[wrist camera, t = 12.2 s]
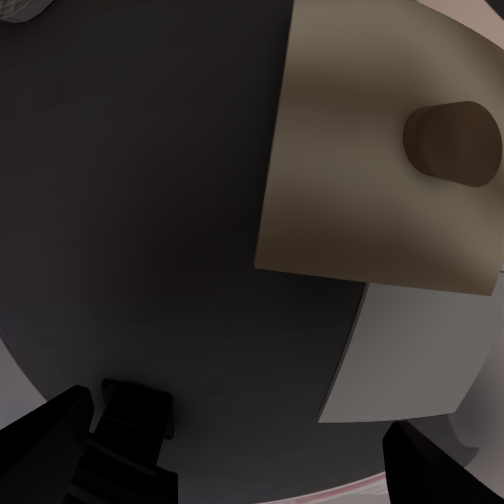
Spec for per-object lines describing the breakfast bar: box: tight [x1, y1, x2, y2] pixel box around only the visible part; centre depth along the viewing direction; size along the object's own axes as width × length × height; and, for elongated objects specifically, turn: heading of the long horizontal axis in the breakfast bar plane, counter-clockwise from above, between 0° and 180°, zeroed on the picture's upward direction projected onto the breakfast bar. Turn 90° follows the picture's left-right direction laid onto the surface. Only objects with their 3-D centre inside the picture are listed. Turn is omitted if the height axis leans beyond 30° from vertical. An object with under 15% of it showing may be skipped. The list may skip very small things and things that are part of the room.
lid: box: [254, 0, 504, 296], centre depth 11 cm, size 14×14×5 cm
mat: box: [317, 271, 504, 422], centre depth 22 cm, size 16×16×1 cm
